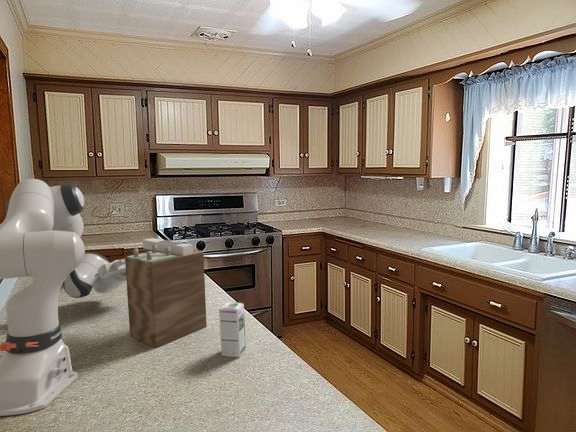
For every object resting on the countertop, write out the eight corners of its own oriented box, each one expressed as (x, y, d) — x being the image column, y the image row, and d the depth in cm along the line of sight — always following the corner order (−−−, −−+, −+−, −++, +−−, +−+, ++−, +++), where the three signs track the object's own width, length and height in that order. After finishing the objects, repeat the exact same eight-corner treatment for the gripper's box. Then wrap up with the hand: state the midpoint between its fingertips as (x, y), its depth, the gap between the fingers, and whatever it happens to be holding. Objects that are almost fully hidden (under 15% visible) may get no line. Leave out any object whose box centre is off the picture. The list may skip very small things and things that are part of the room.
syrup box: (240, 358, 120) (238, 309, 118) (220, 356, 121) (218, 307, 119) (246, 349, 125) (244, 302, 123) (227, 347, 126) (225, 301, 125)
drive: (193, 253, 137) (192, 244, 137) (183, 255, 134) (182, 246, 134) (152, 246, 150) (152, 237, 150) (143, 248, 147) (142, 239, 147)
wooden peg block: (206, 326, 143) (203, 243, 139) (156, 348, 127) (151, 254, 123) (180, 318, 151) (176, 239, 147) (130, 337, 135) (124, 248, 132)
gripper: (89, 270, 155) (105, 255, 147) (138, 259, 171) (155, 245, 163) (95, 285, 154) (111, 272, 146) (144, 273, 170) (161, 260, 162)
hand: (135, 258), depth 154 cm, fingers open, 8 cm apart
